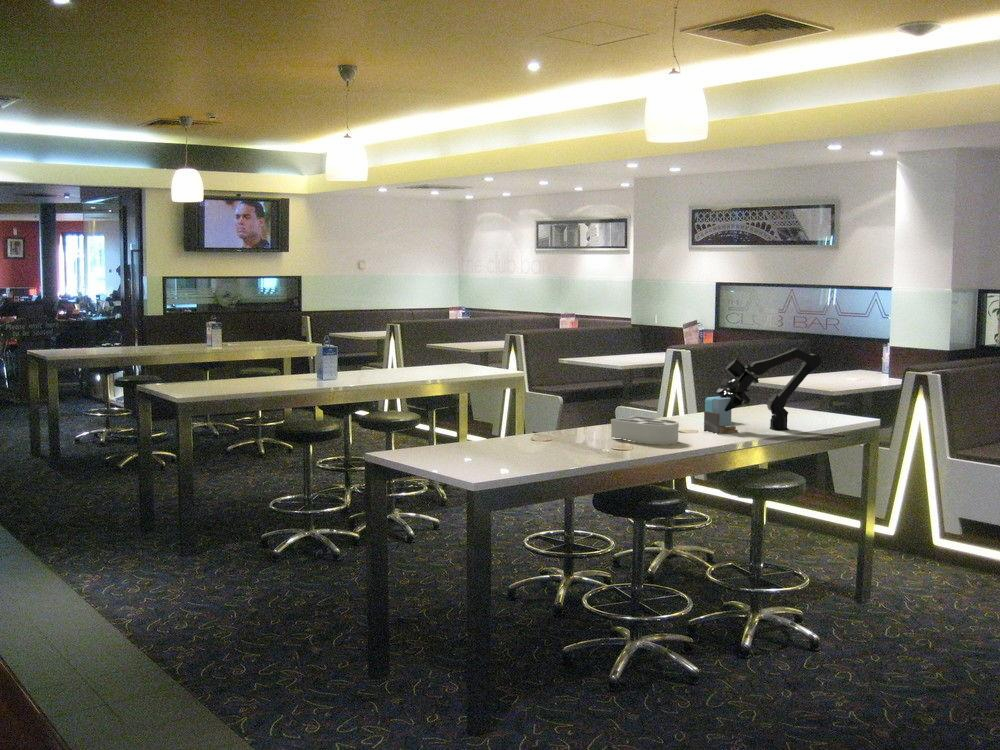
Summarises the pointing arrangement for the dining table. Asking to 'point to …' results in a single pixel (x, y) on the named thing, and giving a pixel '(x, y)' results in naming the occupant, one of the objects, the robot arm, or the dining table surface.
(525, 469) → the dining table surface
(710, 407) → the data package
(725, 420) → the blue angular block
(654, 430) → the ice cube tray
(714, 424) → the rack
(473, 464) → the dining table surface
